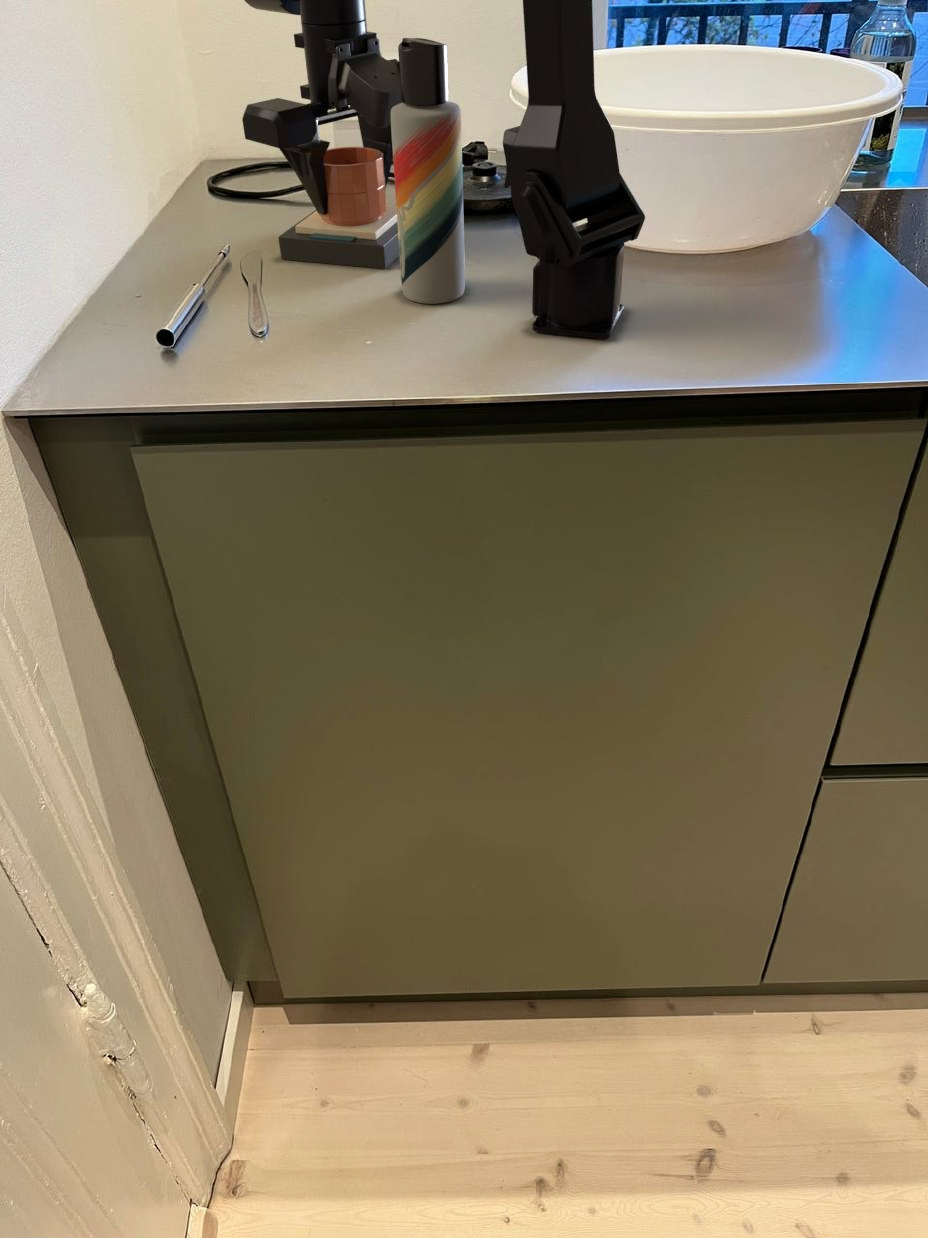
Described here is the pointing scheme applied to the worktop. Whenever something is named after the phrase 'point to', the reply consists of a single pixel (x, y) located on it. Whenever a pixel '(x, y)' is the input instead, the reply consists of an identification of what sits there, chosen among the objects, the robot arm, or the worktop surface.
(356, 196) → the plant pot
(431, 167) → the lotion bottle
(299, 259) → the scale
